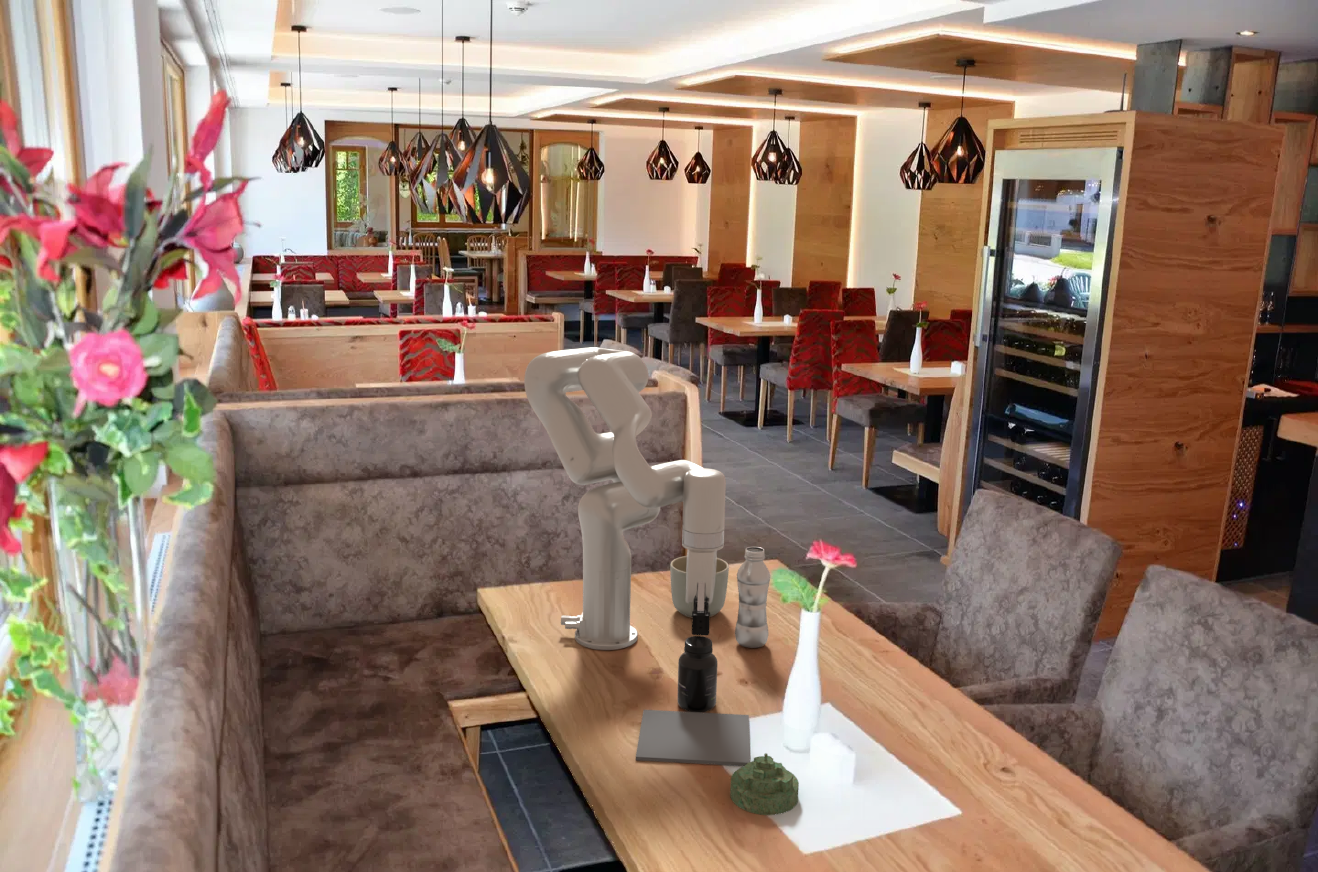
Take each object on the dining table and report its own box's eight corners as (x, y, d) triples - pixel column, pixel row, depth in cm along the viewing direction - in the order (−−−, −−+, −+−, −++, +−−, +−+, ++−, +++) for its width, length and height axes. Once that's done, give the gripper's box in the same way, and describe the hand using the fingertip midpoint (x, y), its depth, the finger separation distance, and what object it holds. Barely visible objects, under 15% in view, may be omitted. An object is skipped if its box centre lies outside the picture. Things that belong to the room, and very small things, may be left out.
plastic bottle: (769, 652, 209) (773, 555, 205) (734, 651, 209) (738, 554, 205) (766, 639, 216) (771, 544, 211) (733, 638, 216) (736, 543, 211)
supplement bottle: (670, 707, 186) (671, 643, 183) (688, 692, 191) (690, 629, 189) (705, 717, 182) (706, 651, 180) (723, 701, 188) (724, 638, 185)
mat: (635, 760, 168) (635, 756, 168) (643, 712, 183) (643, 709, 183) (750, 766, 167) (750, 762, 167) (748, 718, 182) (748, 714, 182)
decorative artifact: (720, 784, 162) (744, 820, 153) (722, 741, 160) (746, 775, 151) (782, 775, 165) (808, 810, 155) (784, 733, 163) (811, 766, 154)
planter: (661, 604, 233) (663, 557, 230) (715, 599, 236) (716, 553, 234) (679, 626, 221) (681, 576, 219) (735, 620, 225) (737, 571, 223)
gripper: (684, 524, 199) (681, 617, 203) (680, 549, 185) (678, 649, 189) (724, 526, 199) (721, 619, 203) (723, 551, 184) (720, 650, 188)
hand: (700, 633), depth 196 cm, fingers closed
